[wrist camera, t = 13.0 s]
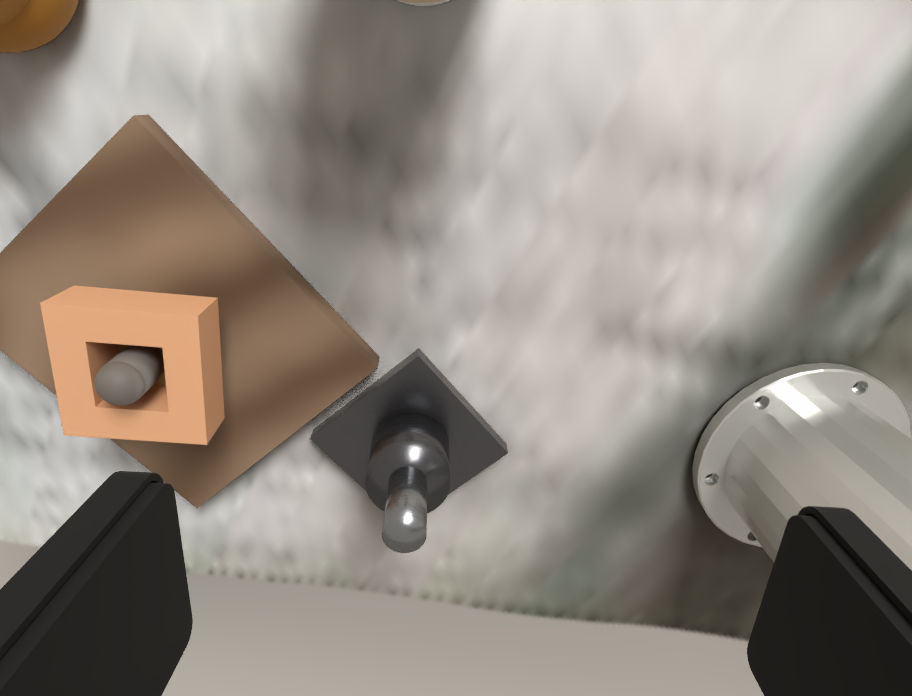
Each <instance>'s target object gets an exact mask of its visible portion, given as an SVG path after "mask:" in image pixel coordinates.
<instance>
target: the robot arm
mask: <svg viewBox="0 0 912 696" xmlns="http://www.w3.org/2000/svg"><path fill="white" fill-rule="evenodd" d="M911 437H912V436H911V427H910V420H909V417H908V414H907V412H906V409H905V407H904V405H903V403H902V402H901V401H900V399H899V398H898V397H897V395H896V394H895V393H894V391H892V390H891V389H890V388H888V387H887V386H886V385H885V384H883V383H882V382H881V381H879V380H877V379H876V378H874V377H872V376H871V375H869V374H867V373H865V372H864V371H862V370H859V369H856V368H852V367H849V366H846V365H840V364H831V363H814V364H803V365H798V366H794V367H790V368H786V369H782V370H780V371H777V372H775V373H772V374H770V375H767V376H765V377H762V378H761V379H759V380H757V381H755V382H754V383H752V384H750V385H749V386H747V387H745V388H744V389H742V390H741V391H740V392H739V393H737V394H736V395H735V396H734V397H733V398H731V399H730V400H729V401H728V402H726V403H725V405H724V406H723V407H722V408H721V409H720V410H719V411H718V412H717V414H716V415H715V416H714V417H713V418H712V420H711V421H710V423H709V424H708V426H707V428H706V429H705V431H704V432H703V434H702V436H701V438H700V441H699V443H698V446H697V449H696V451H695V456H694V462H693V467H692V473H693V486H694V489H695V492H696V496H697V499H698V501H699V502H700V504H701V506H702V507H703V509H704V511H705V512H706V514H707V515H708V517H709V518H710V519H711V520H712V522H713V523H714V524H715V525H716V526H717V527H718V528H719V529H720V530H722V531H723V532H724V533H726V534H727V535H728V536H730V537H732V538H734V539H736V540H739V541H741V542H743V543H746V544H750V545H754V546H758V547H763V549H764V550H765V551H766V553H767V554H768V556H769V557H770V558H771V560H772V561H773V562H774V565H773V568H772V571H771V574H770V577H769V581H768V584H767V587H766V590H765V593H764V596H763V599H762V602H761V605H760V609H759V612H758V615H757V618H756V621H755V624H754V627H753V630H752V633H751V636H750V640H749V643H748V648H747V655H748V661H749V665H750V668H751V671H752V673H753V675H754V677H755V679H756V681H757V682H758V684H759V686H760V688H761V690H762V692H763V694H764V696H912V439H911ZM191 630H192V613H191V605H190V598H189V591H188V584H187V577H186V570H185V563H184V556H183V549H182V542H181V535H180V528H179V521H178V514H177V506H176V499H175V493H174V489H173V487H172V485H171V484H168V483H164V482H163V479H162V477H161V476H160V475H159V474H157V473H146V472H127V471H119V472H115V473H114V474H112V475H111V476H110V477H109V478H108V479H107V480H106V481H105V482H104V483H103V484H102V485H101V486H100V487H99V488H98V489H97V490H96V491H95V492H94V493H93V494H92V495H91V496H90V497H89V498H88V499H87V500H86V502H85V503H84V504H83V505H82V506H81V507H80V508H79V509H78V510H77V511H76V512H75V513H74V514H73V515H72V516H71V517H70V518H69V519H68V520H67V521H66V522H65V523H64V524H63V525H62V526H61V527H60V528H59V529H58V530H57V531H56V533H55V534H54V535H53V536H52V537H51V538H50V539H49V540H48V541H47V542H46V543H45V544H44V545H43V546H42V547H41V548H40V549H39V550H38V551H37V552H36V553H35V554H34V555H33V556H32V557H31V558H30V559H29V561H28V562H26V564H25V565H24V566H23V567H22V568H21V569H20V570H19V571H18V572H17V573H16V574H15V575H14V576H13V577H12V578H11V579H10V580H9V581H8V582H7V583H6V584H5V585H4V586H3V587H2V588H1V590H0V696H161V695H162V693H163V691H164V689H165V687H166V685H167V684H168V681H169V680H170V678H171V676H172V674H173V672H174V670H175V668H176V666H177V664H178V662H179V660H180V658H181V656H182V654H183V652H184V650H185V648H186V646H187V644H188V641H189V639H190V635H191Z"/></svg>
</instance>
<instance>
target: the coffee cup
mask: <svg viewBox="0 0 912 696" xmlns="http://www.w3.org/2000/svg"><path fill="white" fill-rule="evenodd" d="M397 1H399V2H402V3H405V4H409V5H415V6H432V5H438V4H442V3H445V2H448V1H450V0H397Z"/></svg>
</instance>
